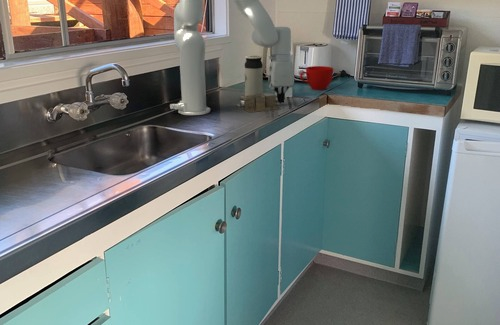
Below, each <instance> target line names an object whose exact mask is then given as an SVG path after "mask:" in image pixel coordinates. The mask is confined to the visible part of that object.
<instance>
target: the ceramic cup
mask: <svg viewBox="0 0 500 325" xmlns="http://www.w3.org/2000/svg"><path fill="white" fill-rule="evenodd" d="M303 74H305V75H306V76H305V77H306V80H305V79H304V78H303ZM333 75H334V68H333V67H331V66H325V65H318V66H317V65H314V66H313V65H312V66H307V67H306V68H305V71H302V72H300V76H299V77H300V80H301V81H302V82H304V83H306V84H308V86H310V89H312V90H315V91H325V90H326V89H327V88H328V87H329V85H331V82H332V80H333Z"/></svg>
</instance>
